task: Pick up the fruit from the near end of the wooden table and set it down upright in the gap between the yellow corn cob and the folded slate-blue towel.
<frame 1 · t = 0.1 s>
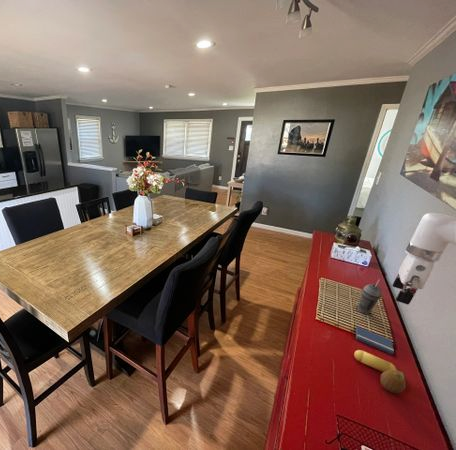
hand: (399, 294, 82), 33 cm above the sideboard, tool pointing down, fingers open, 9 cm apart
corn cob: (372, 365, 93), on the sideboard
beverage cup: (363, 311, 121), on the sideboard
fruit: (387, 389, 85), on the sideboard
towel: (373, 340, 104), on the sideboard
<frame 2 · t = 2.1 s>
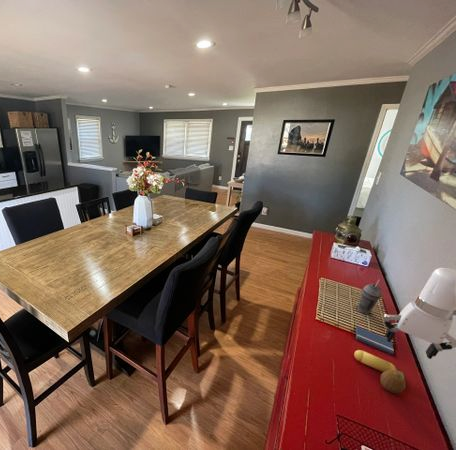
hand: (407, 347, 79), 19 cm above the sideboard, tool pointing down, fingers open, 9 cm apart
nothing on the sideboard moved.
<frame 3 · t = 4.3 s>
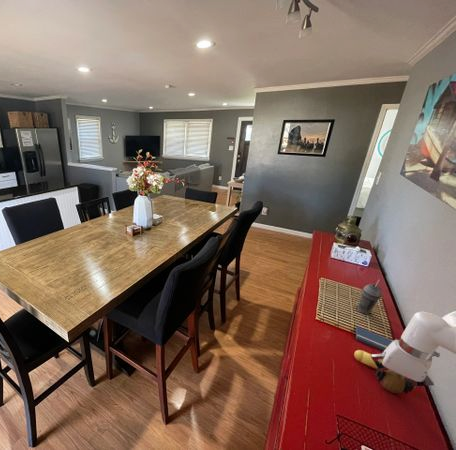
hand: (391, 383, 84), 3 cm above the sideboard, tool pointing down, fingers closed on fruit, 6 cm apart
fruit: (387, 389, 85), on the sideboard, touching gripper
everything else where it was.
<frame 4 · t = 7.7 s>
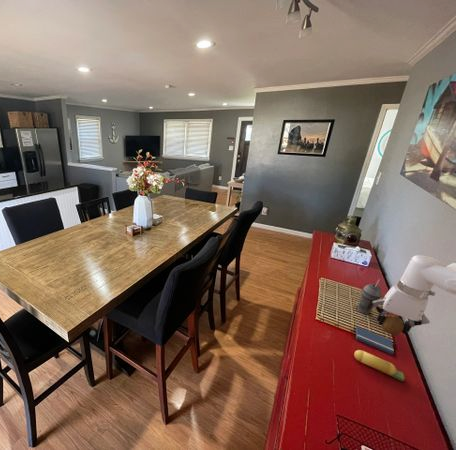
hand: (391, 326, 91), 16 cm above the sideboard, tool pointing down, fingers closed on fruit, 6 cm apart
fruit: (387, 332, 92), point 13 cm above the sideboard, touching gripper
everything else where it was.
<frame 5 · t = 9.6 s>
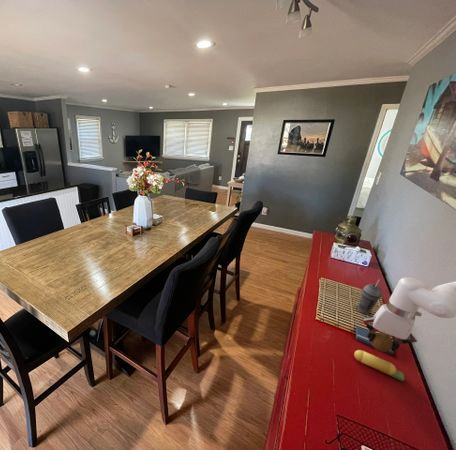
hand: (380, 343, 95), 6 cm above the sideboard, tool pointing down, fingers closed on fruit, 6 cm apart
fruit: (377, 349, 96), point 3 cm above the sideboard, touching gripper
everything else where it was.
when the fingers open (3 cm above the sideboard, at t = 11.0 s): fruit stays where it is, on the sideboard.
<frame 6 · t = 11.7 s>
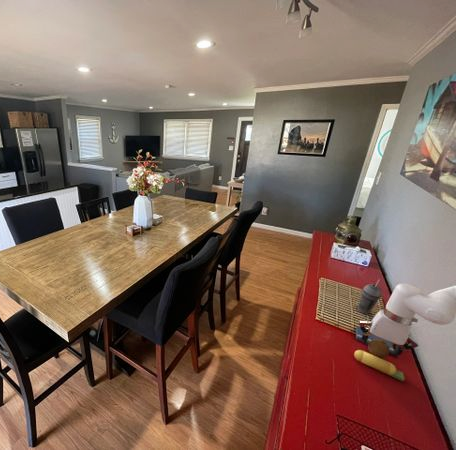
hand: (378, 347, 96), 4 cm above the sideboard, tool pointing down, fingers open, 9 cm apart
fruit: (374, 355, 98), on the sideboard
everything else where it was.
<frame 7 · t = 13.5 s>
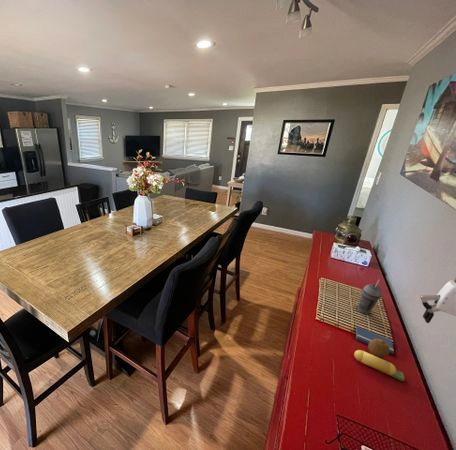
hand: (447, 327, 79), 25 cm above the sideboard, tool pointing down, fingers open, 9 cm apart
nothing on the sideboard moved.
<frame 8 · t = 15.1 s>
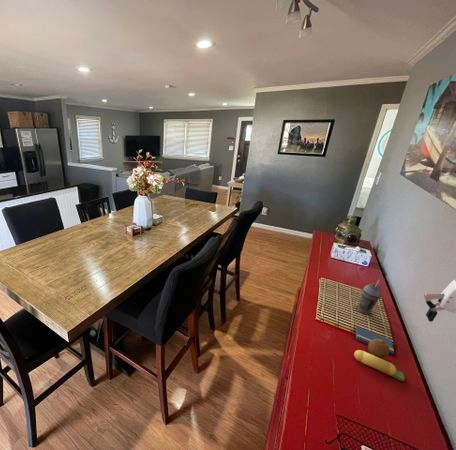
hand: (450, 326, 78), 26 cm above the sideboard, tool pointing down, fingers open, 9 cm apart
nothing on the sideboard moved.
at the end: fruit 0.1 cm from the target spot, on the sideboard; fruit tilted 0°; the gripper is holding nothing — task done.
